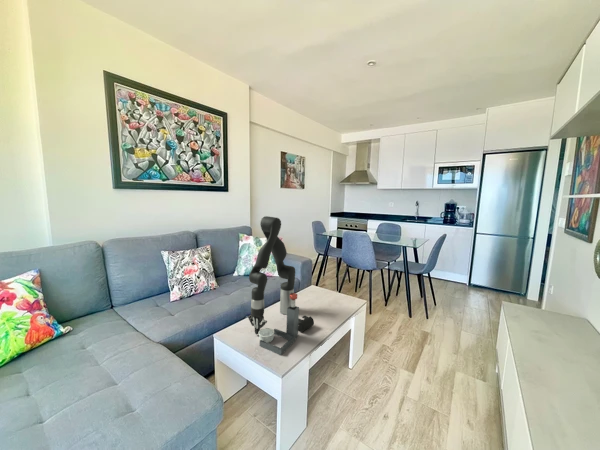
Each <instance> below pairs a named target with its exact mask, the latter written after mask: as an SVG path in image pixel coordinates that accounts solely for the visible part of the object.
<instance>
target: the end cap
mask: <svg viewBox="0 0 600 450" xmlns="http://www.w3.org/2000/svg"><path fill="white" fill-rule="evenodd" d="M301 318H302V319H301ZM301 318H299V322H298V333H299V332H300V333H302V332H304V331H306V330H308V329H309V328H311V327H312V326H314V324H315V320H314V318H313V317H312V316H309V317H308V316H307V315H303V316H301Z"/></svg>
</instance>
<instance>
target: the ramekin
mask: <svg viewBox="0 0 600 450" xmlns="http://www.w3.org/2000/svg"><path fill="white" fill-rule="evenodd" d="M274 337H275V334H274V329H273V328H270V327H262V328H260V331H259V334H258V339H259V341H260V340H263V341H265V342H267V343H271V342H272V341H273V340H274Z"/></svg>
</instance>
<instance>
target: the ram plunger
mask: <svg viewBox="0 0 600 450" xmlns="http://www.w3.org/2000/svg"><path fill="white" fill-rule="evenodd" d="M290 299H291V309H293V310H294V309H295V306H296V300H297V299H298V293H296V292H294V293H291V294H290Z"/></svg>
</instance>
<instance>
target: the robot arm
mask: <svg viewBox="0 0 600 450" xmlns="http://www.w3.org/2000/svg"><path fill="white" fill-rule="evenodd" d="M281 228H282V220H281V219H280V218H279V217H274V216H269V215H268V216H267V215H265V216H263V217H262V218H261V220H260V229H261V231H262V233H263V235H264V236H265V239H266V242H264V244H263V245H262V246H261V247H260V249H259V251H258V252H257V256H256V260H255V263H254V265H253V267H252V269H251V270H250V272H249V275H248V279H249V280H248V281H249V282H250V283H251V284H254V285H257V286H256V287H255V286H254V287H253V288H252V289H251V301H250V315H248V317H247V319H248V320H249V322H250V325H251V326H252V327H254V334H255V335H259V331H260V330H261V329H263V328H264V326H266V324H267V323H268V321H267V320H265V317H264V314H265V289H266V286H267V283H268V276H267V273H265V272H261V271H262V269H267V268H268V265H269V261H270V258H271V254H272V257H273V260H274V262H275V265H276V269H277V270H276V271H277V273H278V276H279V278H280V279H284V280H287V281H284V282H282V283H281V284H280V293H279V294H280V296H279V298H280V299H279V300H280V301H279V302H280V303H279V304H280V305H279V313H280V314H282V315H285V316H287V308H288V307H290V306H291V299H290V294H291V293H295V291H294V290H295V289H294V288H295V282H296V267H294V266H292V265H291V266H290V265H286V264H285V263H284V262H285V259H286V256H287V254H288V252H287V248H286V246H285V243H284V242H283V240H282V239H280V237H279V233H280V231H281Z"/></svg>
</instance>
